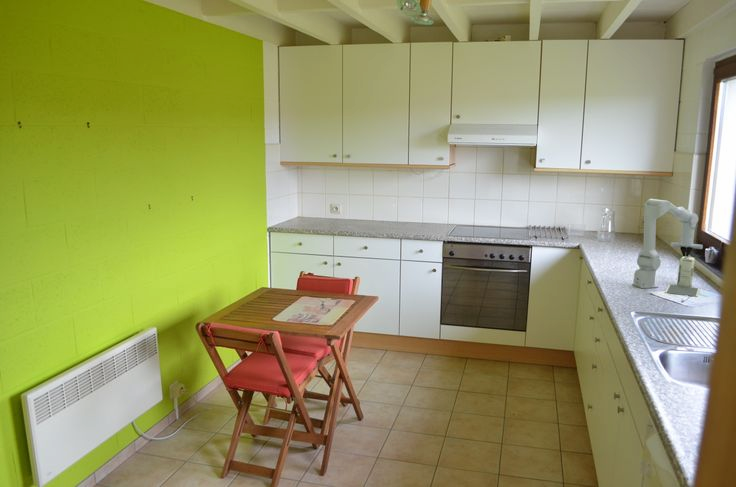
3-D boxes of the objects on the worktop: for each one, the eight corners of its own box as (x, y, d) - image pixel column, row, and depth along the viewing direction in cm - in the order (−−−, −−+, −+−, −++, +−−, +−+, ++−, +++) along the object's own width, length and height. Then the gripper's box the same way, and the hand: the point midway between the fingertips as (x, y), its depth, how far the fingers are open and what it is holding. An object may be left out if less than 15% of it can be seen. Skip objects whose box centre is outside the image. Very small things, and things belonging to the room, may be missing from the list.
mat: (697, 297, 278) (697, 296, 278) (664, 292, 285) (664, 292, 285) (699, 288, 293) (699, 288, 293) (668, 285, 300) (668, 284, 300)
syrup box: (679, 283, 303) (682, 255, 301) (692, 285, 300) (695, 257, 297) (676, 285, 299) (679, 257, 296) (689, 287, 295) (692, 259, 293)
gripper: (703, 235, 304) (701, 261, 307) (672, 233, 312) (670, 258, 314) (703, 237, 298) (700, 263, 301) (671, 235, 306) (669, 260, 308)
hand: (685, 261), depth 307 cm, fingers closed
